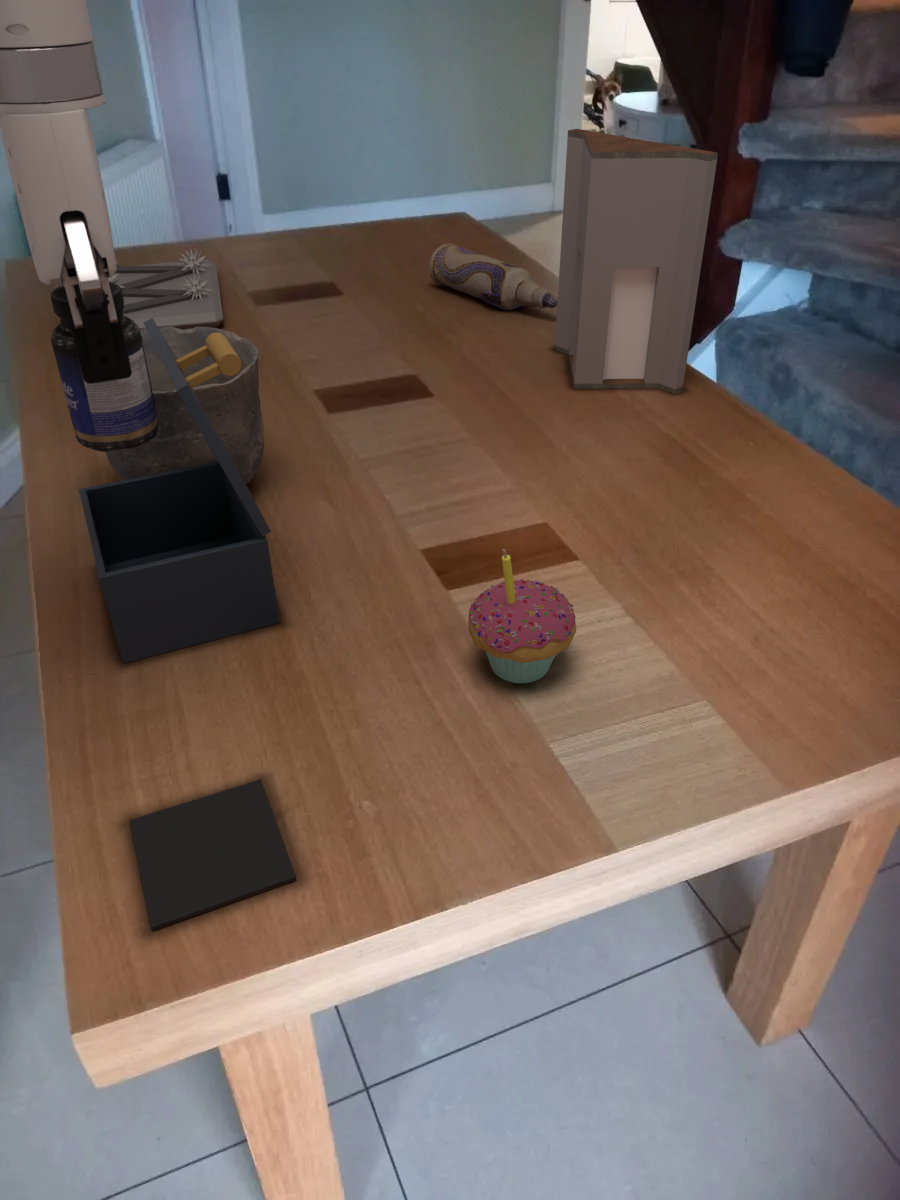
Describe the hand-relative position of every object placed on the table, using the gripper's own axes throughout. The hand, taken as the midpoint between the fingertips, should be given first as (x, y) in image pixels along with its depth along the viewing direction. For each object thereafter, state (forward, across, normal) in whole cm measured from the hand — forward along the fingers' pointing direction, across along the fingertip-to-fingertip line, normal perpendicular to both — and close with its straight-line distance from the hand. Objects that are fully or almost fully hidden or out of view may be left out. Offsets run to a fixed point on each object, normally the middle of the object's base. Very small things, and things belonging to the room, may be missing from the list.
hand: (101, 360), depth 66 cm
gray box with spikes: (+23, -85, +14) cm, 89 cm away
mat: (+24, +27, -2) cm, 36 cm away
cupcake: (+23, +18, +26) cm, 39 cm away
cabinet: (+23, -29, +62) cm, 72 cm away
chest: (+23, -3, +3) cm, 24 cm away
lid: (+8, -3, +7) cm, 11 cm away
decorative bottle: (+22, -62, +62) cm, 91 cm away
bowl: (+23, -22, +7) cm, 33 cm away
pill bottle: (+6, 0, 0) cm, 6 cm away
